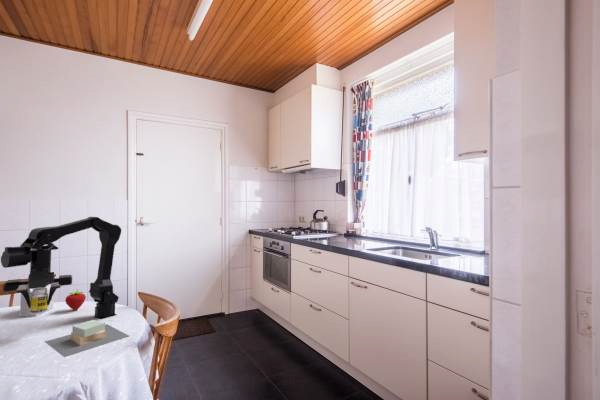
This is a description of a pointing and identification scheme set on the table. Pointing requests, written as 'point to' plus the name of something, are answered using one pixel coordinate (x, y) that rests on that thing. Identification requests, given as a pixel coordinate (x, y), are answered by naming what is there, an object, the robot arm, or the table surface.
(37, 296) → the supplement bottle
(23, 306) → the light bulb box
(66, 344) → the mat
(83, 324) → the tower top
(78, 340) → the tower bottom
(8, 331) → the table surface
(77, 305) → the strawberry
